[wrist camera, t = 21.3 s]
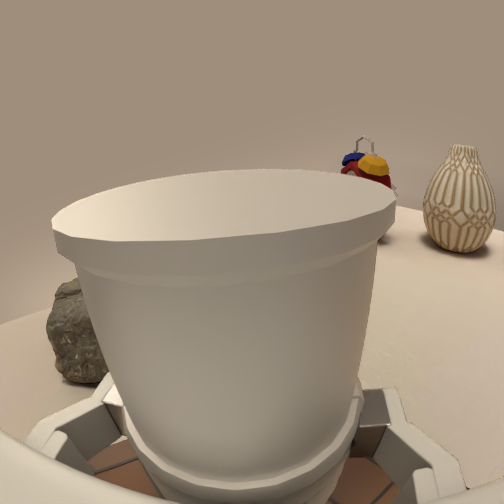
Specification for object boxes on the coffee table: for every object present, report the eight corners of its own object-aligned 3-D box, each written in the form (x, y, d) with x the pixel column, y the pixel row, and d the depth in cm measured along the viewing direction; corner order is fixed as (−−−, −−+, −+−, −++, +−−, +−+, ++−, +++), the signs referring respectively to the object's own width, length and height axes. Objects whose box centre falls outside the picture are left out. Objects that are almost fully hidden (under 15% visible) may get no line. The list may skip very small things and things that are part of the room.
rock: (32, 295, 31) (93, 255, 36) (59, 335, 35) (116, 297, 39) (38, 368, 19) (133, 304, 23) (86, 417, 22) (168, 359, 27)
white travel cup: (331, 555, 8) (491, 230, 3) (179, 558, 8) (-31, 256, 3) (314, 451, 15) (342, 167, 9) (192, 455, 15) (126, 179, 9)
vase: (467, 267, 43) (481, 148, 36) (404, 239, 57) (409, 138, 50) (500, 251, 48) (511, 154, 41) (445, 229, 62) (451, 144, 55)
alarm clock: (335, 225, 67) (336, 134, 60) (370, 223, 68) (373, 136, 60) (361, 248, 54) (365, 135, 46) (401, 245, 54) (407, 138, 47)
